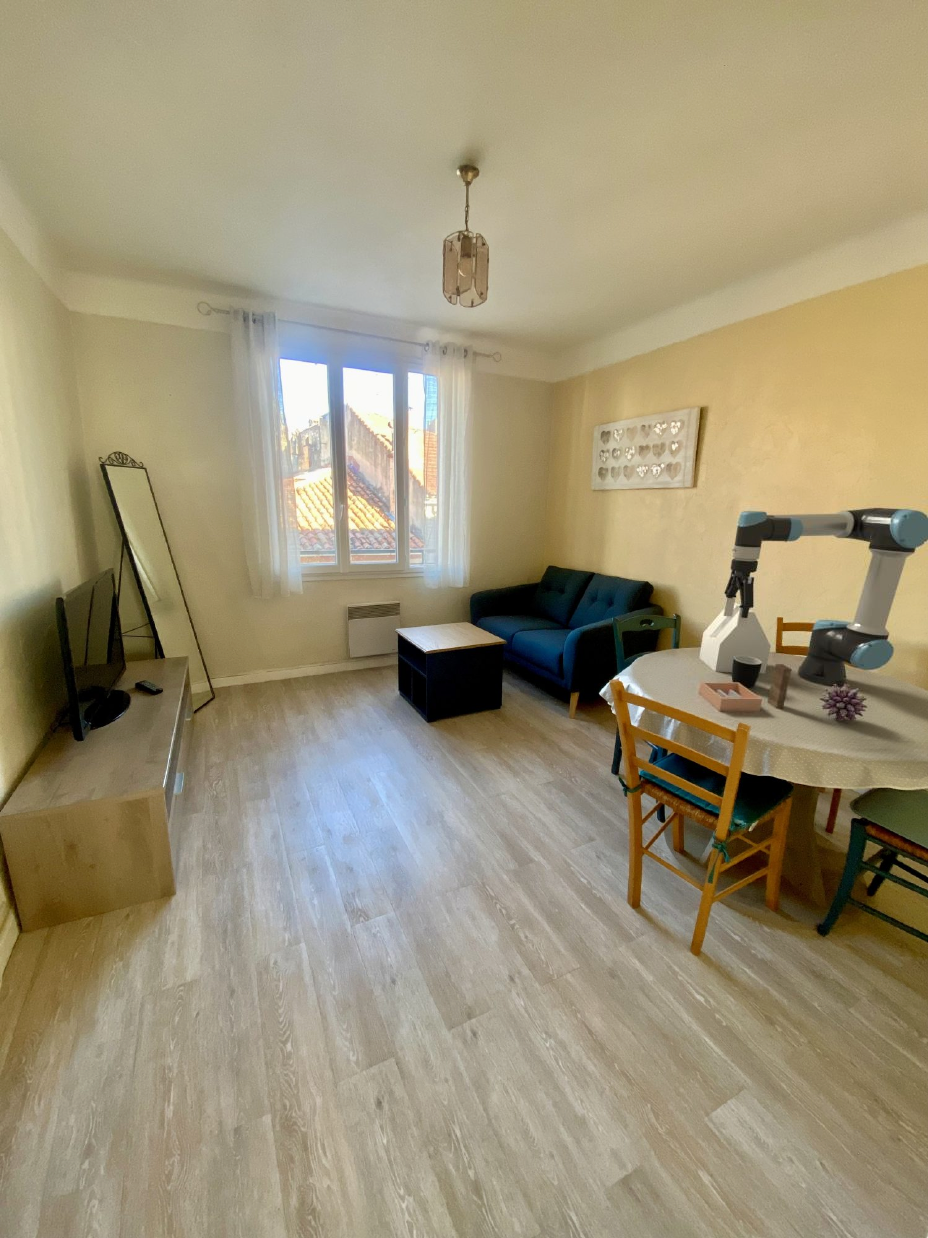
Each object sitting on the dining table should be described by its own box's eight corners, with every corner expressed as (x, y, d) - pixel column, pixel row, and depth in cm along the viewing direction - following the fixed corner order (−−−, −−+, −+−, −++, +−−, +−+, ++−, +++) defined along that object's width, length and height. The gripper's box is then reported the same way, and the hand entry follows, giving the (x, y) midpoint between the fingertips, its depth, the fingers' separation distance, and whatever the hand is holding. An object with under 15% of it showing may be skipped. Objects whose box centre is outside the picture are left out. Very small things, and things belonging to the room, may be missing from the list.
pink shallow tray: (736, 694, 168) (738, 682, 167) (759, 711, 156) (762, 698, 154) (698, 693, 168) (700, 682, 167) (719, 711, 155) (721, 698, 154)
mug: (761, 691, 171) (766, 665, 169) (734, 689, 172) (739, 663, 170) (746, 678, 183) (751, 653, 180) (722, 676, 184) (726, 652, 181)
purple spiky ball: (848, 731, 144) (858, 695, 140) (807, 714, 154) (815, 680, 151) (871, 725, 148) (880, 689, 145) (829, 708, 159) (838, 675, 155)
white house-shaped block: (715, 671, 189) (725, 611, 182) (699, 658, 204) (708, 601, 197) (765, 673, 188) (777, 612, 181) (745, 659, 203) (756, 603, 196)
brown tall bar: (774, 702, 162) (782, 664, 159) (782, 708, 158) (791, 669, 154) (767, 702, 162) (775, 664, 159) (775, 708, 158) (784, 669, 154)
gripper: (720, 553, 168) (711, 611, 174) (746, 564, 145) (734, 631, 151) (744, 554, 167) (733, 612, 173) (773, 565, 144) (760, 632, 149)
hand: (734, 621), depth 162 cm, fingers open, 13 cm apart
